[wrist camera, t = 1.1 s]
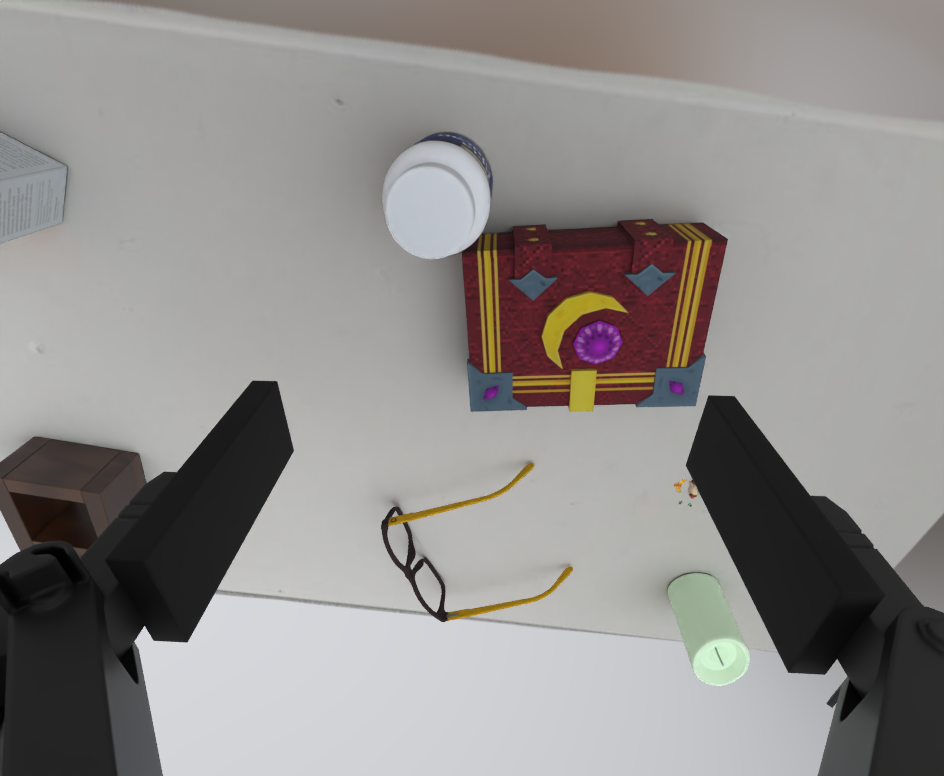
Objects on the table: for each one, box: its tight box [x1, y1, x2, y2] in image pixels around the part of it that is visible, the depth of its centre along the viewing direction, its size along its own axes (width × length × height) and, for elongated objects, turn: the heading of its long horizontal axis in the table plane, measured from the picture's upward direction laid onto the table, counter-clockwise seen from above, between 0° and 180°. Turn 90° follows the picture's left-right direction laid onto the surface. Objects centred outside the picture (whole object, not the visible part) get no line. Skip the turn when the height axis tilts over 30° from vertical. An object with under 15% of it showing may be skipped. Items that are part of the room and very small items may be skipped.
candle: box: [668, 573, 750, 686], centre depth 45 cm, size 5×5×8 cm
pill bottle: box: [382, 132, 493, 259], centre depth 25 cm, size 5×5×10 cm
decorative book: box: [462, 219, 728, 412], centre depth 31 cm, size 11×16×5 cm
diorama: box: [674, 479, 698, 507], centre depth 41 cm, size 3×4×2 cm
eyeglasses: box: [381, 463, 573, 622], centre depth 44 cm, size 14×14×4 cm
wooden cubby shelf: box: [0, 437, 146, 557], centre depth 45 cm, size 9×16×5 cm, turn 170°
